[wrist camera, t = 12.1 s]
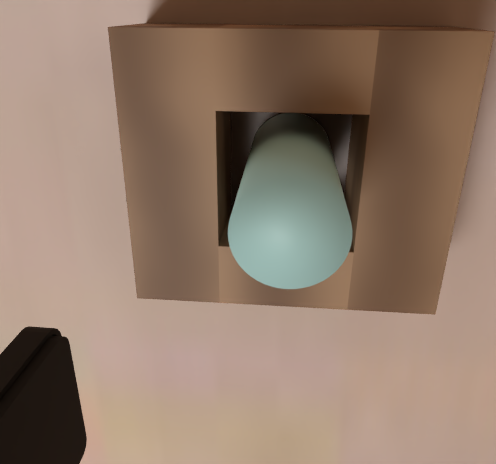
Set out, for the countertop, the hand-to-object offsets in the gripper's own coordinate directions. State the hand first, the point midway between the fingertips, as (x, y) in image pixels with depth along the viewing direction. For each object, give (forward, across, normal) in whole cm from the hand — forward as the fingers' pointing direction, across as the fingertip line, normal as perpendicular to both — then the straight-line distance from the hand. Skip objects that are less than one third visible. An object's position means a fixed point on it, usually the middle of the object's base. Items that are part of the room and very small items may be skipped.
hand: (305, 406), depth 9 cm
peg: (+17, +1, 0) cm, 17 cm away
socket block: (+17, +1, 0) cm, 17 cm away
